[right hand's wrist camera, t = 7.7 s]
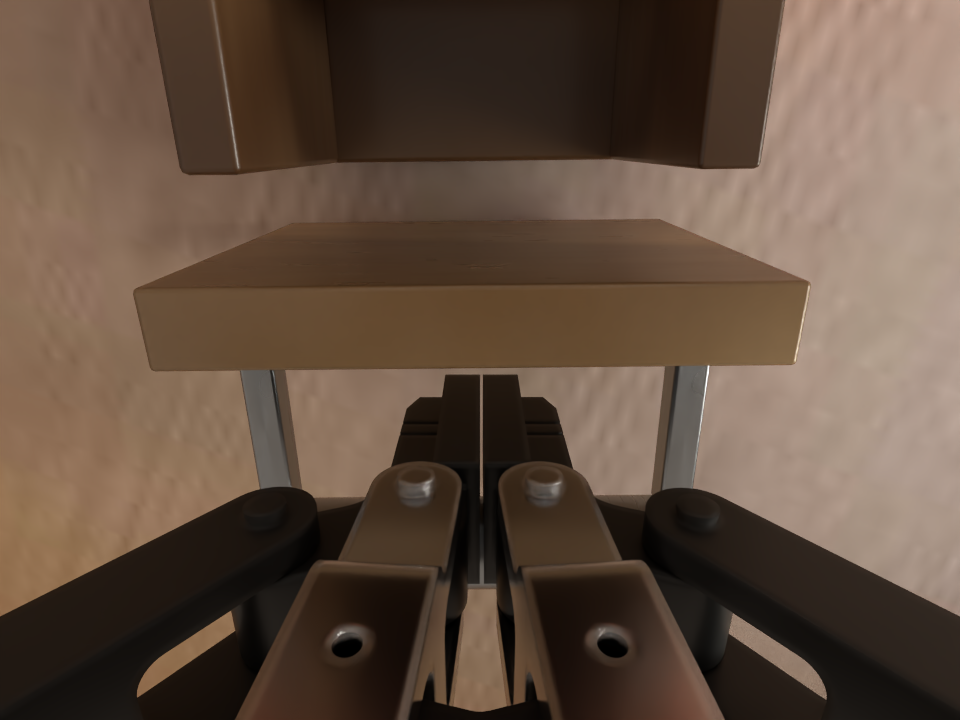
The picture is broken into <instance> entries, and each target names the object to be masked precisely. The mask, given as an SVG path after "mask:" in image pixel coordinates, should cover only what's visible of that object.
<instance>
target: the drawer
mask: <svg viewBox="0 0 960 720" xmlns="http://www.w3.org/2000/svg"><path fill="white" fill-rule="evenodd" d="M149 4H150V9H151V15H152V20H153V25H154V31H155V36H156V41H157V47H158V52H159V57H160V63H161V68H162V74H163V79H164V84H165V90H166V95H167V100H168V106H169V111H170V117H171V122H172V127H173V133H174V138H175V143H176V149H177V154H178V159H179V165H180V168H181V170H182V172H183V173H185V174H188V175H237V174H245V173H254V172H262V171H270V170H279V169H287V168H295V167H303V166H312V165H320V164H328V163H341V162H423V161H505V160H587V159H614V160H623V161H633V162H642V163H651V164H660V165H669V166H678V167H688V168H697V169H750V168H756V167H758V166H759V164H760V162H761V155H762V149H763V142H764V136H765V129H766V122H767V116H768V109H769V103H770V96H771V90H772V83H773V76H774V70H775V63H776V57H777V50H778V44H779V37H780V30H781V24H782V17H783V11H784V4H785V0H149ZM810 288H811V285H810V282H809V281H806V280H804V279H801V278H799V277H797V276H794V275H792V274H789V273H787V272H785V271H782V270H780V269H777V268H775V267H773V266H770V265H768V264H765V263H763V262H761V261H758V260H756V259H753V258H751V257H749V256H746V255H744V254H742V253H739V252H737V251H734V250H732V249H730V248H727V247H725V246H722V245H720V244H718V243H715V242H713V241H710V240H708V239H706V238H703V237H701V236H698V235H696V234H694V233H691V232H689V231H686V230H684V229H682V228H679V227H677V226H674V225H672V224H670V223H667V222H665V221H662V220H660V219H627V220H540V221H453V222H367V223H292V224H290V225H288V226H285V227H283V228H280V229H278V230H276V231H273V232H271V233H268V234H266V235H264V236H261V237H259V238H256V239H254V240H251V241H249V242H247V243H244V244H242V245H239V246H237V247H235V248H232V249H230V250H227V251H225V252H223V253H220V254H218V255H215V256H213V257H211V258H208V259H206V260H203V261H201V262H198V263H196V264H194V265H191V266H189V267H186V268H184V269H182V270H179V271H177V272H174V273H172V274H170V275H167V276H165V277H162V278H160V279H158V280H155V281H153V282H150V283H148V284H145V285H143V286H141V287H138V288H136V289H135V290H134V293H133V295H134V300H135V304H136V308H137V313H138V317H139V321H140V326H141V330H142V334H143V339H144V343H145V347H146V352H147V356H148V360H149V365H150V368H151V369H152V370H153V371H224V370H240V375H241V380H242V386H243V392H244V398H245V404H246V410H247V415H248V421H249V427H250V433H251V439H252V444H253V450H254V456H255V462H256V468H257V474H258V479H259V485H260V489H263V488H270V487H293V488H298V489H301V490H302V486H301V479H300V472H299V465H298V457H297V450H296V443H295V436H294V429H293V422H292V415H291V408H290V401H289V394H288V387H287V380H286V373H285V370H325V369H426V368H528V367H629V366H665V373H664V382H663V391H662V400H661V409H660V419H659V428H658V437H657V446H656V455H655V464H654V473H653V482H652V491H651V493H652V495H653V494H655V493H657V492H659V491H661V490H665V489H670V488H692V489H693V482H694V475H695V468H696V461H697V453H698V446H699V439H700V432H701V425H702V418H703V410H704V403H705V396H706V389H707V382H708V374H709V367H710V366H730V365H792V364H795V362H796V360H797V355H798V350H799V345H800V339H801V334H802V329H803V324H804V319H805V314H806V309H807V304H808V299H809V294H810ZM652 495H594V497H596V498H598V499H600V500H602V501H604V502H607V503H610V504H613V505H617V506H621V507H626V508H631V509H636V510H641V511H645V506H646V503H647V500H648V499H649V498H650V497H651V496H652ZM314 499H315V501H316V504H317V511H318V512H320V511H325V510H330V509H335V508H340V507H344V506H348V505H352V504H355V503H358V502H360V501H363V500H365V497H344V498H314ZM468 589H496V584H484V537H483V496H480V584H468Z"/></svg>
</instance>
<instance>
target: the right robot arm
mask: <svg viewBox="0 0 960 720" xmlns="http://www.w3.org/2000/svg"><path fill="white" fill-rule="evenodd" d="M483 537H484V584H496V590H497V633H498V641H499V649H500V657H501V664H502V672H503V680H504V688H505V696H506V704H507V707H503V708H499V709H495V710H491V711H485V712H475V711H469V710H465V709H461V708H457V707H453V703H454V695H455V688H456V680H457V672H458V664H459V656H460V648H461V641H462V633H463V610H464V608H465V606H466V603H467V590H468V584H480V375H445V381H444V388H443V395H442V397H420V398H419V399H417V400H416V401H415V402H414V403H413V404H412V405H410V406H409V407H408V408H407V410H406V414H405V417H404V421H403V425H402V429H401V432H400V436H399V440H398V444H397V447H396V451H395V455H394V459H393V462H392V466H391V467H390V468H388V469H386V470H385V471H383V472H381V473H380V474H379V475H378V476H377V477H376V478H375V479H374V480H373V482H372V484H371V486H370V488H369V491H368V493H367V495H366V497H365V500H363V501H360V502H358V503H355V504H352V505H348V506H344V507H340V508H335V509H330V510H325V511H320V512H318V511H317V504H316V501H315V499H314V498H313V496H312V495H310V494H309V493H308V492H306V491H304V490H301V489H298V488H293V487H270V488H263V489H259V490H255V491H252V492H250V493H247V494H244V495H242V496H240V497H238V498H236V499H234V500H232V501H230V502H228V503H226V504H224V505H222V506H220V507H218V508H216V509H214V510H212V511H210V512H208V513H206V514H204V515H202V516H200V517H198V518H196V519H194V520H192V521H190V522H188V523H186V524H184V525H182V526H180V527H178V528H176V529H174V530H172V531H170V532H168V533H166V534H164V535H162V536H160V537H158V538H156V539H154V540H152V541H150V542H148V543H146V544H144V545H142V546H140V547H138V548H136V549H134V550H132V551H130V552H128V553H126V554H124V555H122V556H120V557H118V558H116V559H114V560H112V561H110V562H108V563H106V564H104V565H102V566H100V567H98V568H96V569H94V570H92V571H90V572H88V573H86V574H84V575H82V576H80V577H78V578H76V579H74V580H72V581H70V582H68V583H66V584H64V585H62V586H60V587H58V588H56V589H54V590H52V591H50V592H48V593H46V594H44V595H42V596H40V597H38V598H36V599H34V600H32V601H30V602H28V603H26V604H24V605H22V606H20V607H18V608H16V609H14V610H12V611H10V612H8V613H6V614H4V615H2V616H0V720H960V616H958V615H956V614H954V613H952V612H950V611H948V610H946V609H944V608H942V607H940V606H938V605H936V604H934V603H932V602H930V601H928V600H926V599H924V598H922V597H920V596H918V595H916V594H914V593H912V592H910V591H908V590H906V589H904V588H902V587H900V586H898V585H896V584H894V583H892V582H890V581H888V580H886V579H884V578H882V577H880V576H878V575H876V574H874V573H872V572H870V571H868V570H866V569H864V568H862V567H860V566H858V565H856V564H854V563H852V562H850V561H848V560H846V559H844V558H842V557H840V556H838V555H836V554H834V553H832V552H830V551H828V550H826V549H824V548H822V547H820V546H818V545H816V544H814V543H812V542H810V541H808V540H806V539H804V538H802V537H800V536H798V535H796V534H794V533H792V532H790V531H788V530H786V529H784V528H782V527H780V526H778V525H776V524H774V523H772V522H770V521H768V520H766V519H764V518H762V517H760V516H758V515H756V514H754V513H752V512H750V511H748V510H746V509H744V508H742V507H740V506H738V505H736V504H734V503H732V502H730V501H728V500H726V499H724V498H722V497H720V496H717V495H715V494H712V493H709V492H706V491H702V490H698V489H692V488H670V489H665V490H661V491H659V492H657V493H655V494H653V495H652V496H651V497H650V498H649V499H648V500H647V503H646V506H645V511H641V510H636V509H631V508H626V507H621V506H617V505H613V504H610V503H607V502H604V501H602V500H600V499H598V498H596V497H594V495H593V493H592V491H591V488H590V486H589V484H588V482H587V481H586V479H585V478H584V477H583V476H582V475H581V474H580V473H578V472H577V471H575V470H574V469H573V467H572V463H571V460H570V456H569V453H568V449H567V445H566V442H565V438H564V435H563V431H562V428H561V424H560V420H559V417H558V413H557V410H556V408H555V407H554V406H553V405H551V404H550V403H549V402H548V401H547V400H546V399H544V398H543V397H521V394H520V388H519V381H518V375H483ZM229 611H231V612H232V617H233V622H234V627H235V632H233V633H232V634H230V635H229V636H227V637H226V638H224V639H223V640H221V641H220V642H219V643H217V644H216V645H214V646H213V647H211V648H210V649H208V650H207V651H205V652H204V653H202V654H201V655H200V656H198V657H197V658H195V659H194V660H192V661H191V662H189V663H188V664H186V665H185V666H183V667H182V668H181V669H179V670H178V671H176V672H175V673H173V674H172V675H170V676H169V677H167V678H166V679H164V680H163V681H162V682H160V683H159V684H157V685H156V686H154V687H153V688H151V689H150V690H148V691H147V692H145V693H144V694H142V695H141V696H139V697H138V698H137V689H138V685H139V683H140V680H141V678H142V677H143V675H144V673H145V672H146V671H147V669H148V668H149V667H150V666H151V665H152V664H153V662H155V661H156V660H157V659H158V658H159V657H161V656H162V655H163V654H165V653H166V652H168V651H169V650H171V649H172V648H174V647H175V646H177V645H179V644H180V643H182V642H183V641H185V640H186V639H188V638H189V637H191V636H192V635H194V634H195V633H197V632H198V631H200V630H202V629H203V628H205V627H206V626H208V625H209V624H211V623H212V622H214V621H215V620H217V619H218V618H220V617H222V616H223V615H225V614H226V613H228V612H229ZM733 613H734V614H735V615H737V616H739V617H740V618H742V619H743V620H745V621H746V622H748V623H749V624H751V625H752V626H754V627H755V628H757V629H758V630H760V631H762V632H763V633H765V634H766V635H768V636H769V637H771V638H772V639H774V640H775V641H777V642H778V643H780V644H782V645H783V646H785V647H786V648H788V649H789V650H791V651H792V652H794V653H795V654H797V655H798V656H800V657H801V658H803V659H804V660H805V661H806V662H808V663H809V664H810V665H811V666H812V667H813V668H814V670H815V671H816V672H817V673H818V675H819V676H820V678H821V680H822V681H823V683H824V686H825V689H826V692H827V700H825V699H824V698H822V697H820V696H819V695H818V694H816V693H815V692H813V691H812V690H810V689H809V688H807V687H806V686H804V685H803V684H801V683H800V682H799V681H797V680H796V679H794V678H793V677H791V676H790V675H788V674H787V673H785V672H784V671H782V670H781V669H779V668H778V667H777V666H775V665H774V664H772V663H771V662H769V661H768V660H766V659H765V658H763V657H762V656H760V655H759V654H758V653H756V652H755V651H753V650H752V649H750V648H749V647H747V646H746V645H744V644H743V643H741V642H740V641H739V640H737V639H736V638H734V637H733V636H731V635H730V634H728V633H729V629H730V624H731V619H732V614H733Z"/></svg>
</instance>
